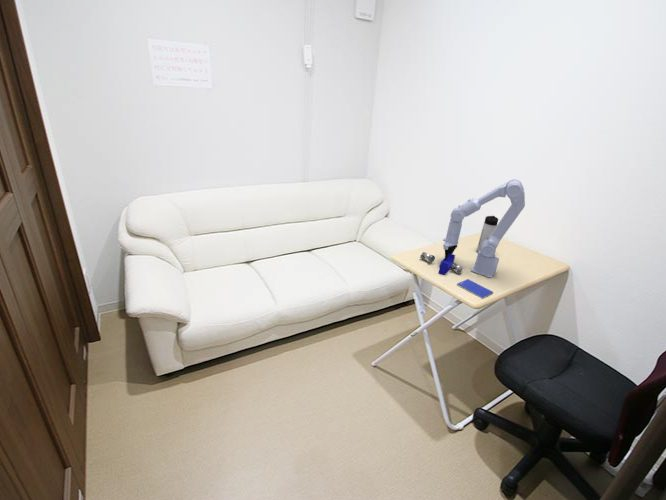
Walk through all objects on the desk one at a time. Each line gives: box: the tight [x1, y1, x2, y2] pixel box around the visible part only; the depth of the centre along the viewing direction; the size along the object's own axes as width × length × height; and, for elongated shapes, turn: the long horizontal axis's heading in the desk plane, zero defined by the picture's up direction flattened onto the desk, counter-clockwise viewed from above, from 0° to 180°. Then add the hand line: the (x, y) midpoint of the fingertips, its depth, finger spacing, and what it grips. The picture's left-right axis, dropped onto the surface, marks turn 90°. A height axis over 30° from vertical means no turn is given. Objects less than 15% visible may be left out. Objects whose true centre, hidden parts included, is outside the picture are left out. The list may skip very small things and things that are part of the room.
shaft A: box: [450, 262, 463, 275], centre depth 161 cm, size 4×4×4 cm
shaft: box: [419, 251, 436, 263], centre depth 169 cm, size 6×4×4 cm, turn 33°
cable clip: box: [438, 253, 456, 276], centre depth 163 cm, size 12×4×6 cm, turn 146°
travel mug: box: [476, 215, 499, 254], centre depth 181 cm, size 6×7×20 cm
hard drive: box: [456, 278, 494, 299], centre depth 149 cm, size 2×8×12 cm
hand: (447, 258), depth 170 cm, fingers closed
